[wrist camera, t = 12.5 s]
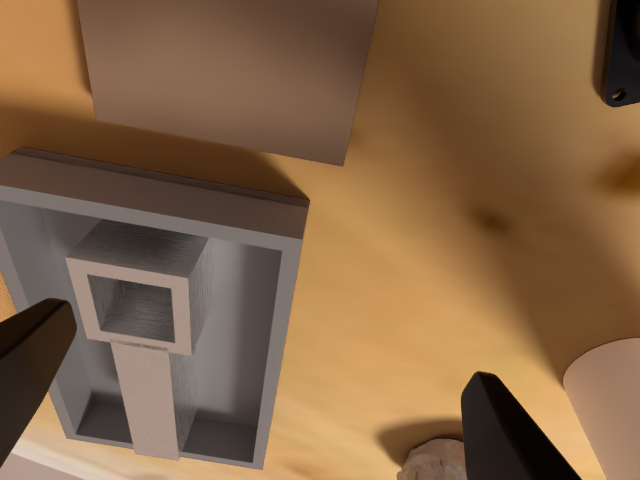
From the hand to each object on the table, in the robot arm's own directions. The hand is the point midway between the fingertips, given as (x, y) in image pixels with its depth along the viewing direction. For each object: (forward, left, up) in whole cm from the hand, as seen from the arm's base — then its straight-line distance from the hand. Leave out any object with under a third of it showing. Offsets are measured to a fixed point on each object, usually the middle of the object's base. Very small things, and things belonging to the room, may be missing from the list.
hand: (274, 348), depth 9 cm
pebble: (-29, -3, -12) cm, 32 cm away
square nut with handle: (-10, +12, -11) cm, 19 cm away
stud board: (+12, -1, -12) cm, 17 cm away
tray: (-10, +12, -12) cm, 20 cm away
